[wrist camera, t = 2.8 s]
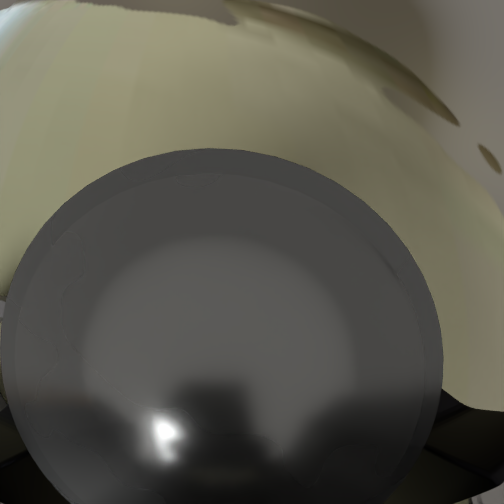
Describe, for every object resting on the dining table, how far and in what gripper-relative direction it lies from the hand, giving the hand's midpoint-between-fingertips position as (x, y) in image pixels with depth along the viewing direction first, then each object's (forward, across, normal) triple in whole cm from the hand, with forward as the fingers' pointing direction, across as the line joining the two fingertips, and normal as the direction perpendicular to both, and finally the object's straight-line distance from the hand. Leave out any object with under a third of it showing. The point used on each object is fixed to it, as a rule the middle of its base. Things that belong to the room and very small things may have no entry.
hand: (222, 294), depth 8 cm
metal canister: (+4, 0, +6) cm, 7 cm away
